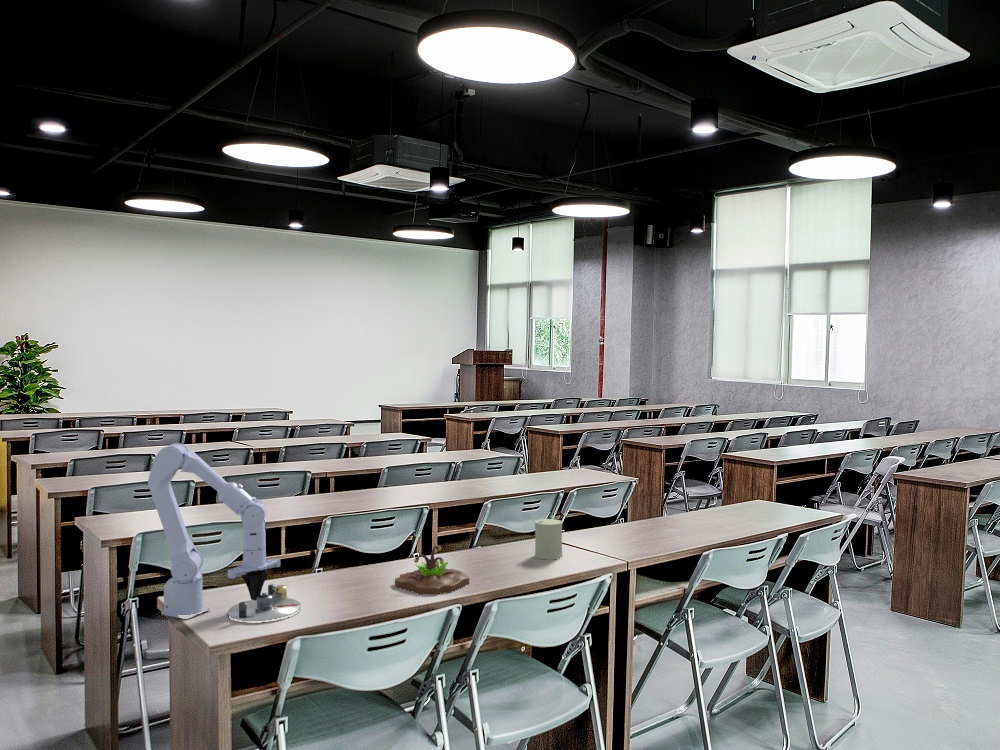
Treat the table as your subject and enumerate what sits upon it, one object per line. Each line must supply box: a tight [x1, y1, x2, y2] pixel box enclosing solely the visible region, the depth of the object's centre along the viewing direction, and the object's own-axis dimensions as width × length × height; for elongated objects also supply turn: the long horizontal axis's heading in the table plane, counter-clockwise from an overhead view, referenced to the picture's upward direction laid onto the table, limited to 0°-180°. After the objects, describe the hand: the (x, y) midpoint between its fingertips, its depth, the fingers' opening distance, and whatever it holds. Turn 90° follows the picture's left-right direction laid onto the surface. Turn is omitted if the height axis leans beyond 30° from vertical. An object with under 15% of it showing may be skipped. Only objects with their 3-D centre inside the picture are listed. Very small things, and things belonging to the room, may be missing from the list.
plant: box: [394, 545, 470, 595], centre depth 221 cm, size 20×20×11 cm
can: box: [534, 518, 564, 561], centre depth 251 cm, size 9×9×12 cm
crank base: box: [227, 584, 302, 621], centre depth 197 cm, size 18×18×5 cm
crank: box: [257, 584, 288, 609], centre depth 200 cm, size 10×4×3 cm, turn 161°
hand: (255, 599), depth 199 cm, fingers closed
